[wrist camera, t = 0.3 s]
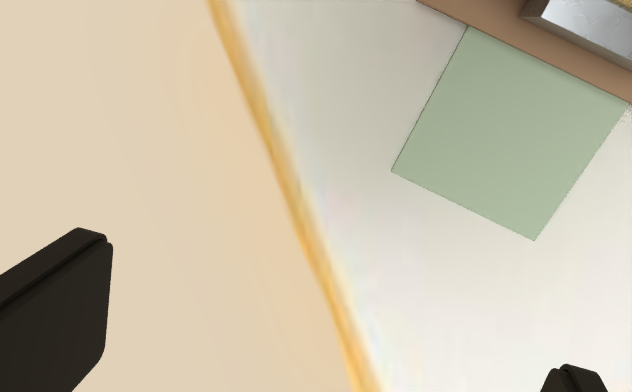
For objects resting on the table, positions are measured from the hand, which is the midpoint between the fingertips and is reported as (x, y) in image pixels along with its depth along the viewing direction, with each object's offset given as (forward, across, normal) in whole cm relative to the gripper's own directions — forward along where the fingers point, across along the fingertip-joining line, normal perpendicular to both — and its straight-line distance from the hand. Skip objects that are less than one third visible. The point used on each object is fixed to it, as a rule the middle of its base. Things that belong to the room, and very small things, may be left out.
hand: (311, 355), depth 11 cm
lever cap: (+26, -11, -10) cm, 30 cm away
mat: (+30, -9, -1) cm, 31 cm away
